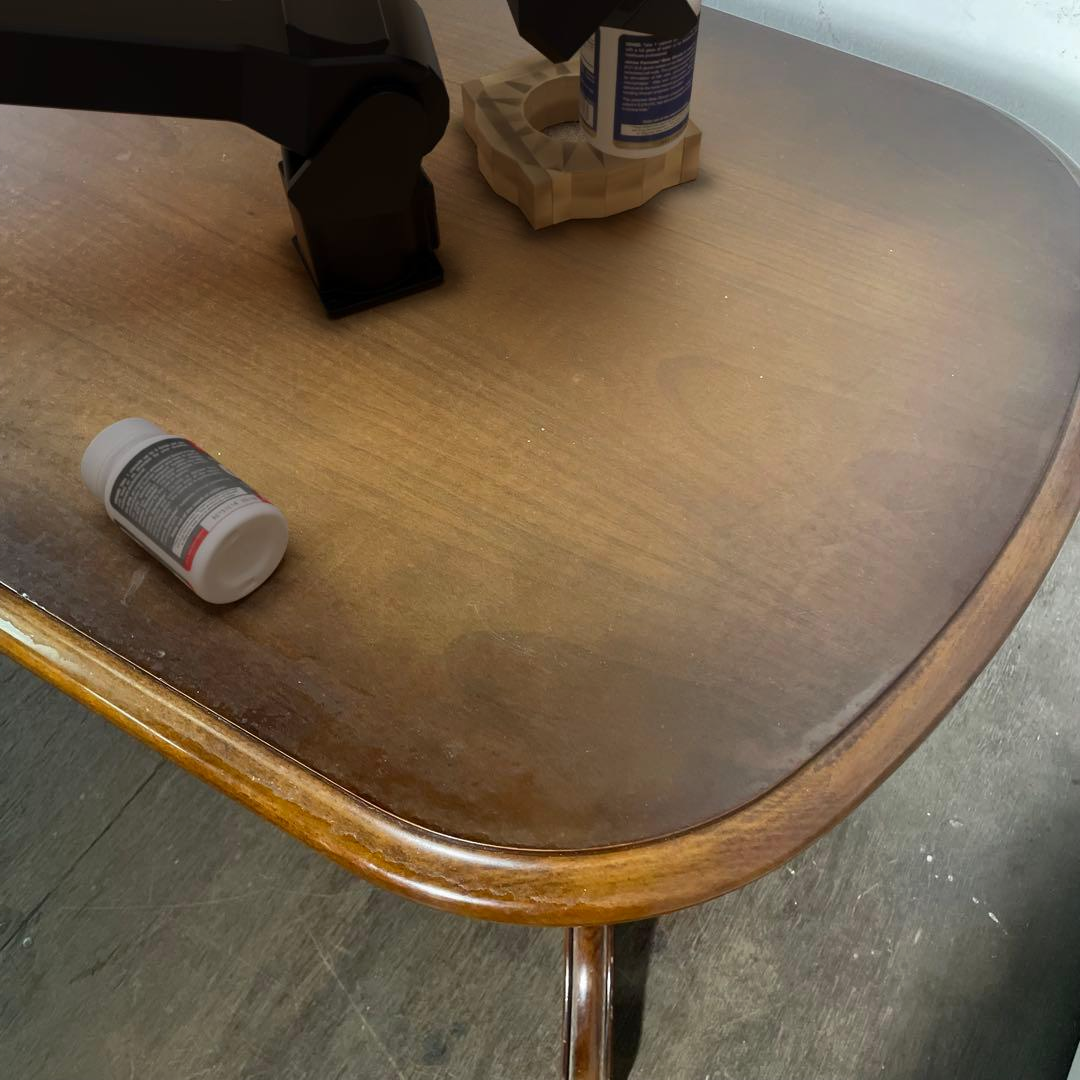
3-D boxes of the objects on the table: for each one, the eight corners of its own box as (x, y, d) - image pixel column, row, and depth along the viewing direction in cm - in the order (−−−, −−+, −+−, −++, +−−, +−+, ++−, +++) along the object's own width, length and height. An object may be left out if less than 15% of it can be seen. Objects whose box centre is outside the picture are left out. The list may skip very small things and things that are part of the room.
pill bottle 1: (294, 491, 43) (165, 391, 46) (196, 542, 40) (65, 432, 43) (291, 573, 46) (170, 474, 49) (201, 626, 43) (78, 518, 46)
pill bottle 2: (706, 118, 53) (734, -86, 45) (653, 176, 51) (672, -29, 42) (614, 84, 55) (624, -118, 47) (558, 139, 52) (559, -65, 44)
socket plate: (528, 242, 57) (526, 196, 54) (449, 126, 62) (444, 79, 60) (713, 182, 59) (720, 135, 57) (620, 75, 65) (622, 29, 62)
